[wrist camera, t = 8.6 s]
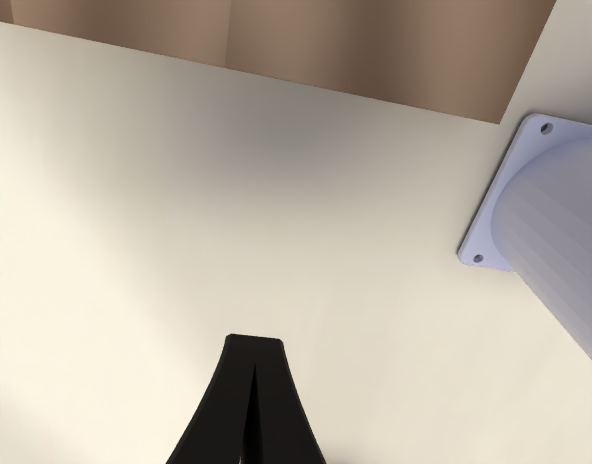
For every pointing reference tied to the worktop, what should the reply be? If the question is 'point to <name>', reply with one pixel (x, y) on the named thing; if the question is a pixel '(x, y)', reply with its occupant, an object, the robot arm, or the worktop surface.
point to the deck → (327, 42)
